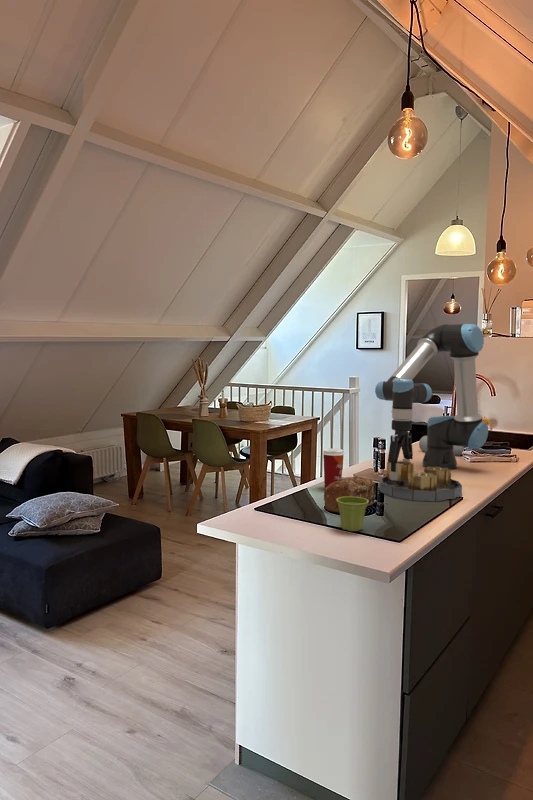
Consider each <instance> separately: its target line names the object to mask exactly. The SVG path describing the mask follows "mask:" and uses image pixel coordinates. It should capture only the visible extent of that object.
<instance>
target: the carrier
mask: <svg viewBox="0 0 533 800" xmlns="http://www.w3.org/2000/svg"><path fill="white" fill-rule="evenodd" d="M420 476H424V475H420ZM378 487H379V492H380V493H381V494H384V495H387V496H389V497H391V498H395V499H396V498H397V499H400V500H401V499H403V500H406V501H407V500H409V501H414V502H416V501H417V502H418V501H419V502H440V501H439V500H445V499H453V498H456V497H458V498H460V497H462V494H463V485H462V484H461V483H460V482H459V480H456V479H453V478H451V486H448V487H437V488H436V491H428V490H411V489H408V481H398V480H397V481H396V480H390V479H389V478H387V475H384V476H381V477H379V482H378ZM456 499H457V498H456Z"/></svg>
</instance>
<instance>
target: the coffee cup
mask: <svg viewBox="0 0 533 800" xmlns="http://www.w3.org/2000/svg"><path fill="white" fill-rule="evenodd" d="M322 455H323V480H324V481H323V482H324V490H325V489H326V487H327V486H329V485H330V484H331V483H333V482H336V481H338V480H341V479H343V465H344V455H345V453H344V450H343V449H341V448H325V449H323V452H322Z"/></svg>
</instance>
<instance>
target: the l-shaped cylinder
mask: <svg viewBox="0 0 533 800" xmlns="http://www.w3.org/2000/svg"><path fill="white" fill-rule="evenodd" d="M418 446H419V449H420V450H421V451H422V452H423V453H424V452H425V453H426V450H427V435H423V436H422V437H421V438H420V439H419V443H418ZM464 448H465V447H461V446H454V447H453V451H454V454H455V457H461V456H460V455H461V454H462V452H463V451H464V450H465V449H464ZM464 452H465V451H464ZM464 452H463V453H464Z"/></svg>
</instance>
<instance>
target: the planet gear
mask: <svg viewBox="0 0 533 800" xmlns="http://www.w3.org/2000/svg"><path fill="white" fill-rule="evenodd" d="M397 463H398V481H408V478H409V474H412V472H414V469H415V468H414V465H415V463H412V462H411V461H410V462H406V461H403V460H398V461H397ZM390 472H391V463H390V462H388V461H386V476H387V478H389V479H390Z"/></svg>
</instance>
